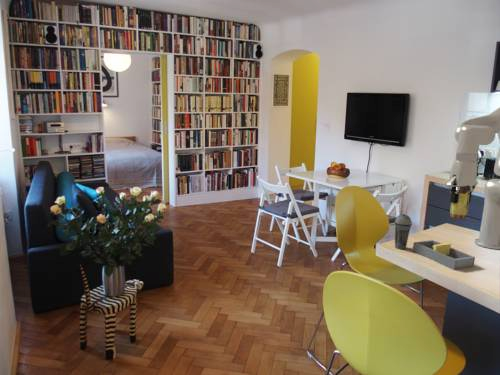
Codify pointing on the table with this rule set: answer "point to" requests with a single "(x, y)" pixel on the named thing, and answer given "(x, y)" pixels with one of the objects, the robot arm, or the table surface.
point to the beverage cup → (402, 230)
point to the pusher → (442, 248)
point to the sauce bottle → (461, 203)
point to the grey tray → (452, 260)
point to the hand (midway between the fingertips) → (460, 201)
